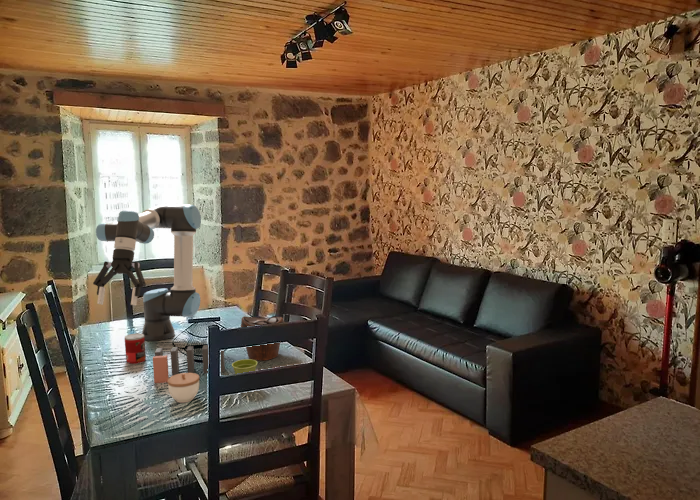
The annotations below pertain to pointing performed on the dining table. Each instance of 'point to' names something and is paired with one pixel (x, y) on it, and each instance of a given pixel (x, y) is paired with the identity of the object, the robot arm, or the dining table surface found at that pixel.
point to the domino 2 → (160, 369)
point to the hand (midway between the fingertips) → (116, 304)
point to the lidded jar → (183, 386)
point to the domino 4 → (190, 359)
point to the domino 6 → (222, 361)
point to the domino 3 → (174, 361)
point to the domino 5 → (205, 358)
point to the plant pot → (244, 365)
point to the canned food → (135, 348)
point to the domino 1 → (159, 352)
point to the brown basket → (263, 350)
